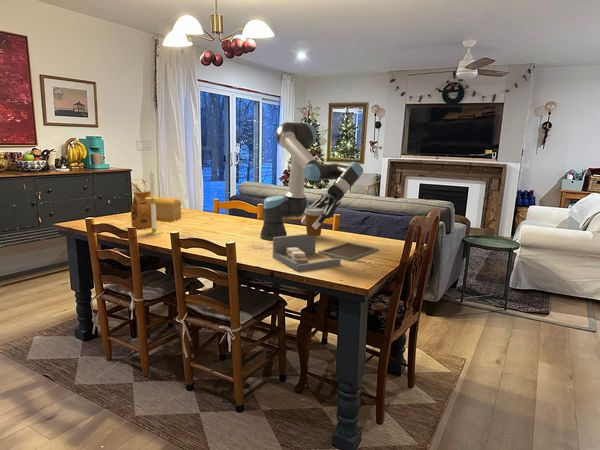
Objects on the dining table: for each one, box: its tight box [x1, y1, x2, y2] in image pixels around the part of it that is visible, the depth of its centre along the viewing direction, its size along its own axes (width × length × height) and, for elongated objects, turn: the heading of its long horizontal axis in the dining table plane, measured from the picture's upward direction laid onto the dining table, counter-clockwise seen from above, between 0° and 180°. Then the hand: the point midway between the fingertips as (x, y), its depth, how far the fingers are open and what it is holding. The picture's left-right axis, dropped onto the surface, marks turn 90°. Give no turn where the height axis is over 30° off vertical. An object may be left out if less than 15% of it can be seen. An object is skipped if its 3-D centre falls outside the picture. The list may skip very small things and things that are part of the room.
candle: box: [145, 168, 161, 235], centre depth 240 cm, size 10×10×38 cm
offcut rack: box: [272, 233, 342, 272], centre depth 194 cm, size 23×23×10 cm
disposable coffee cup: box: [304, 208, 325, 237], centre depth 193 cm, size 10×10×12 cm
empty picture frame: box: [318, 242, 379, 262], centre depth 212 cm, size 19×2×30 cm
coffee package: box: [130, 190, 152, 230], centre depth 255 cm, size 10×12×22 cm
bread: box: [155, 196, 182, 222], centre depth 282 cm, size 24×13×15 cm, turn 80°
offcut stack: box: [284, 247, 309, 264], centre depth 192 cm, size 18×6×6 cm, turn 21°
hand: (308, 225), depth 191 cm, fingers closed on disposable coffee cup, 9 cm apart
